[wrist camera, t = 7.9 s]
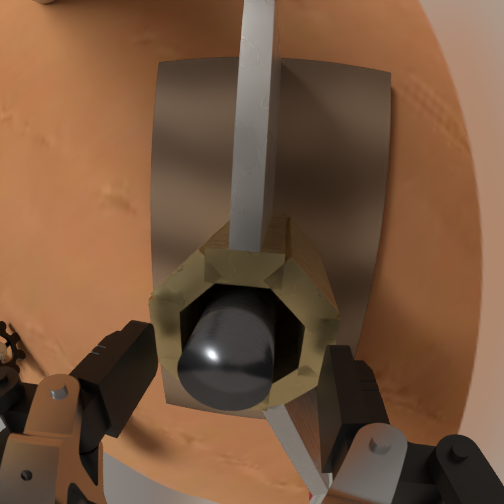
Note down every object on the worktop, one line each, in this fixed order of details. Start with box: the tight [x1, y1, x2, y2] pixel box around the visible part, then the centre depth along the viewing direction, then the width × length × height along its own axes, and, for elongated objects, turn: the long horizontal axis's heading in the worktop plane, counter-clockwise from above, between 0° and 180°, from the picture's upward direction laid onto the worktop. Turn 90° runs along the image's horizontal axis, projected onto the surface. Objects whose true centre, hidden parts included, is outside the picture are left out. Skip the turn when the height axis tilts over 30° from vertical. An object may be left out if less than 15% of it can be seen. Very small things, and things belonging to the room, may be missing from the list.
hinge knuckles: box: [149, 0, 341, 496], centre depth 14 cm, size 24×9×8 cm, turn 177°
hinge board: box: [151, 57, 391, 419], centre depth 19 cm, size 26×14×2 cm, turn 177°
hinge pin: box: [177, 283, 278, 411], centre depth 14 cm, size 3×3×10 cm
